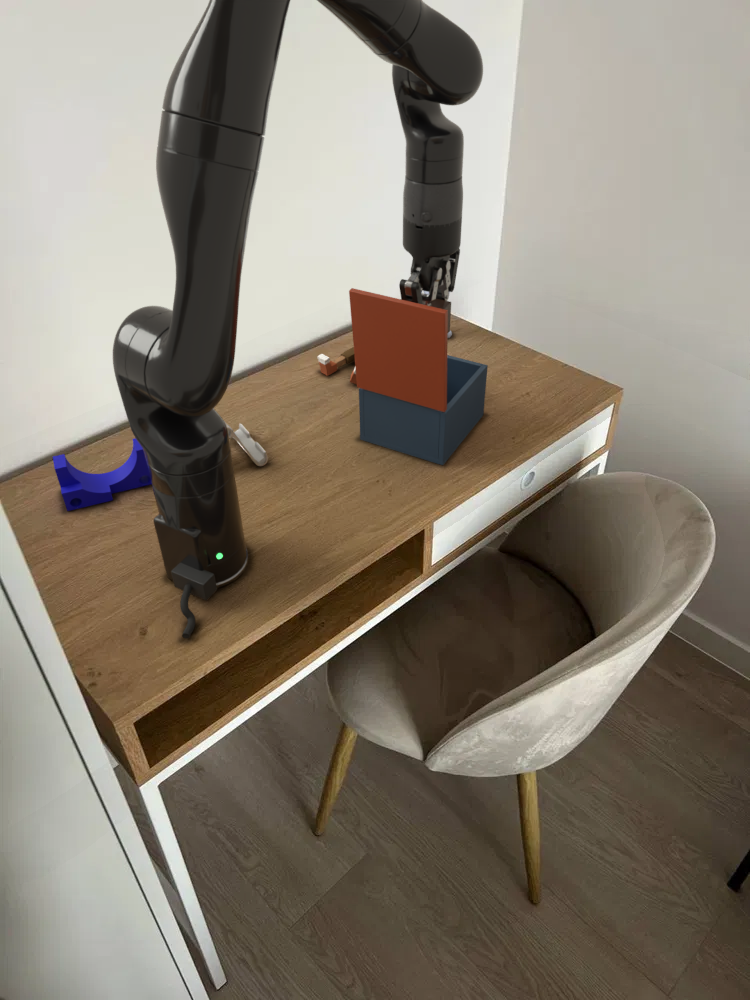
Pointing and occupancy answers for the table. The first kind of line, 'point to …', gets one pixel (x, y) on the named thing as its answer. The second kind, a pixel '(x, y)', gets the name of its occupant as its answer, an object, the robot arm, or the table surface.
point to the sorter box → (427, 415)
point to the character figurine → (337, 363)
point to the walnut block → (442, 305)
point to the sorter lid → (400, 348)
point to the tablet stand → (248, 445)
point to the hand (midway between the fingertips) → (428, 332)
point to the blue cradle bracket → (100, 480)
